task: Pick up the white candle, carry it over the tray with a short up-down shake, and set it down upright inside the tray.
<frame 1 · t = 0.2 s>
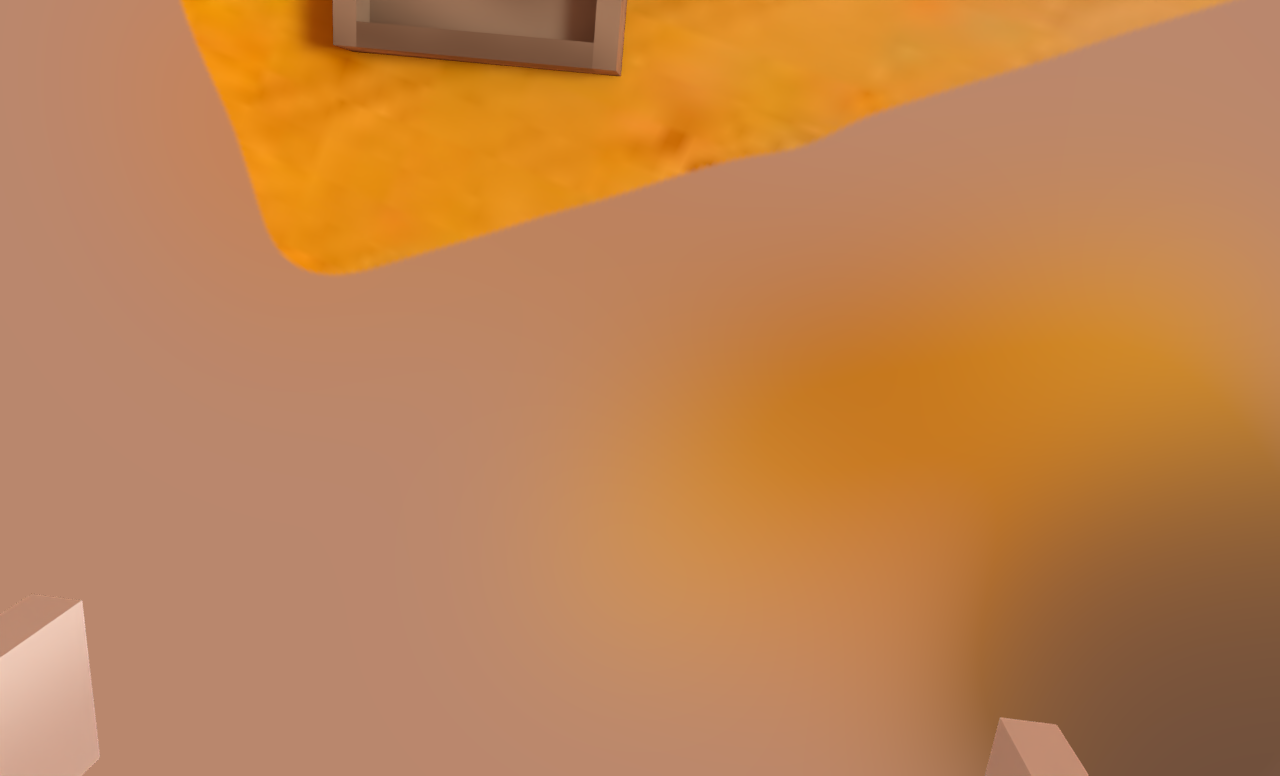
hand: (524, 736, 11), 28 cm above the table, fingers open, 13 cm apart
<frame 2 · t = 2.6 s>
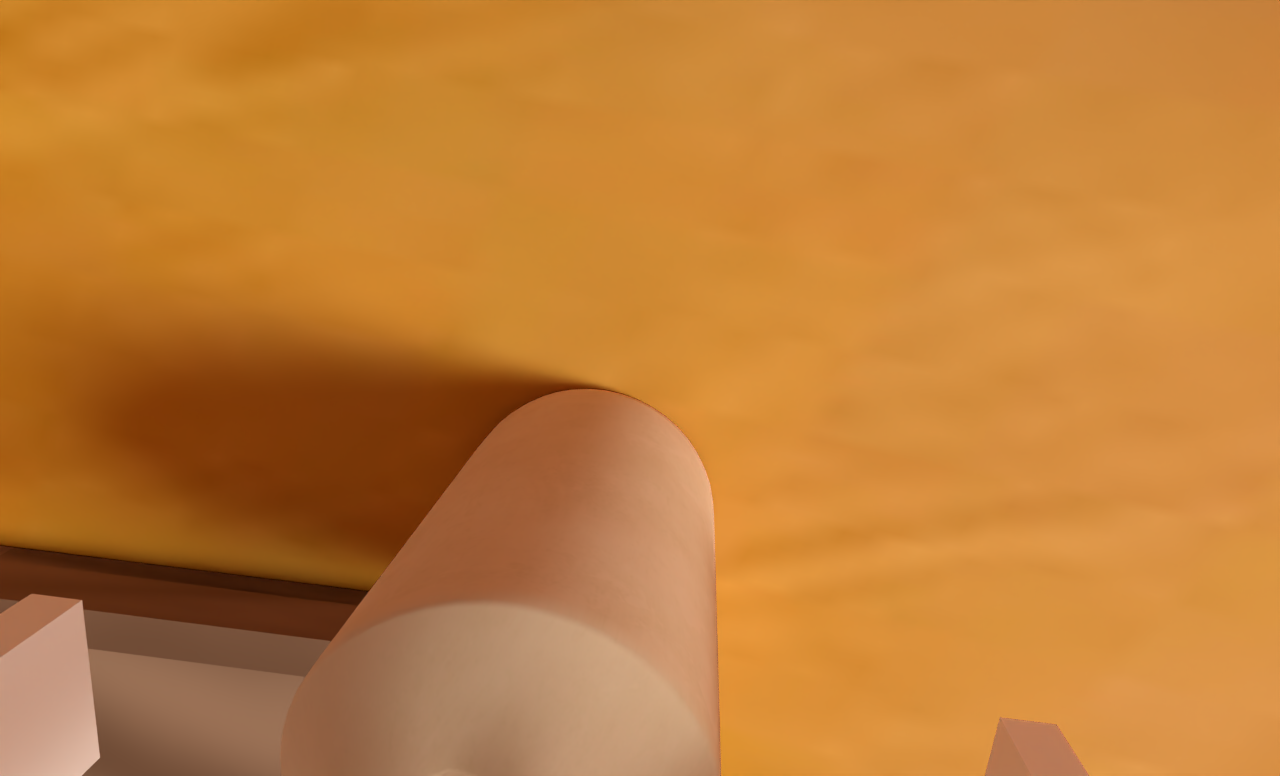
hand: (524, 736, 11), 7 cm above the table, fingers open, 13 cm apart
candle: (592, 498, 18), on the table
tray: (227, 773, 21), on the table
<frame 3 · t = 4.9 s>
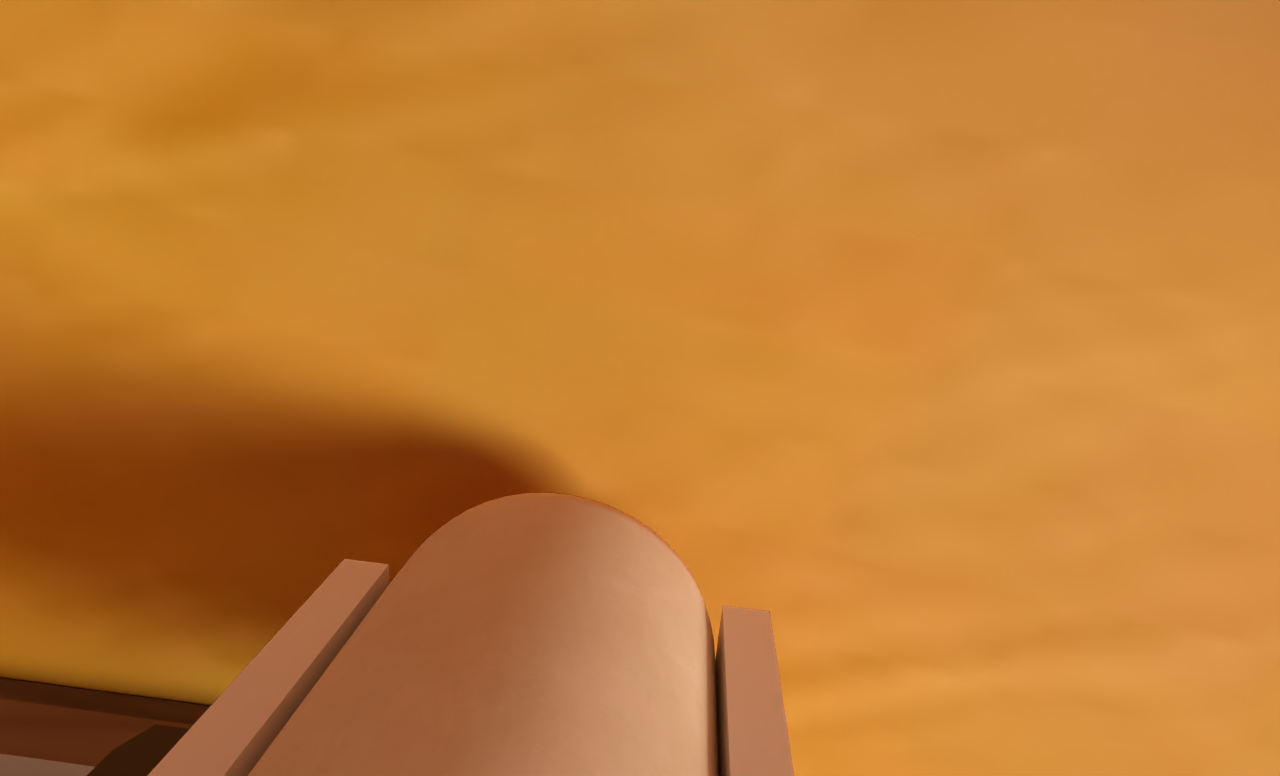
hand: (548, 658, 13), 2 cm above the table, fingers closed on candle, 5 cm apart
candle: (554, 630, 14), point 2 cm above the table, touching gripper
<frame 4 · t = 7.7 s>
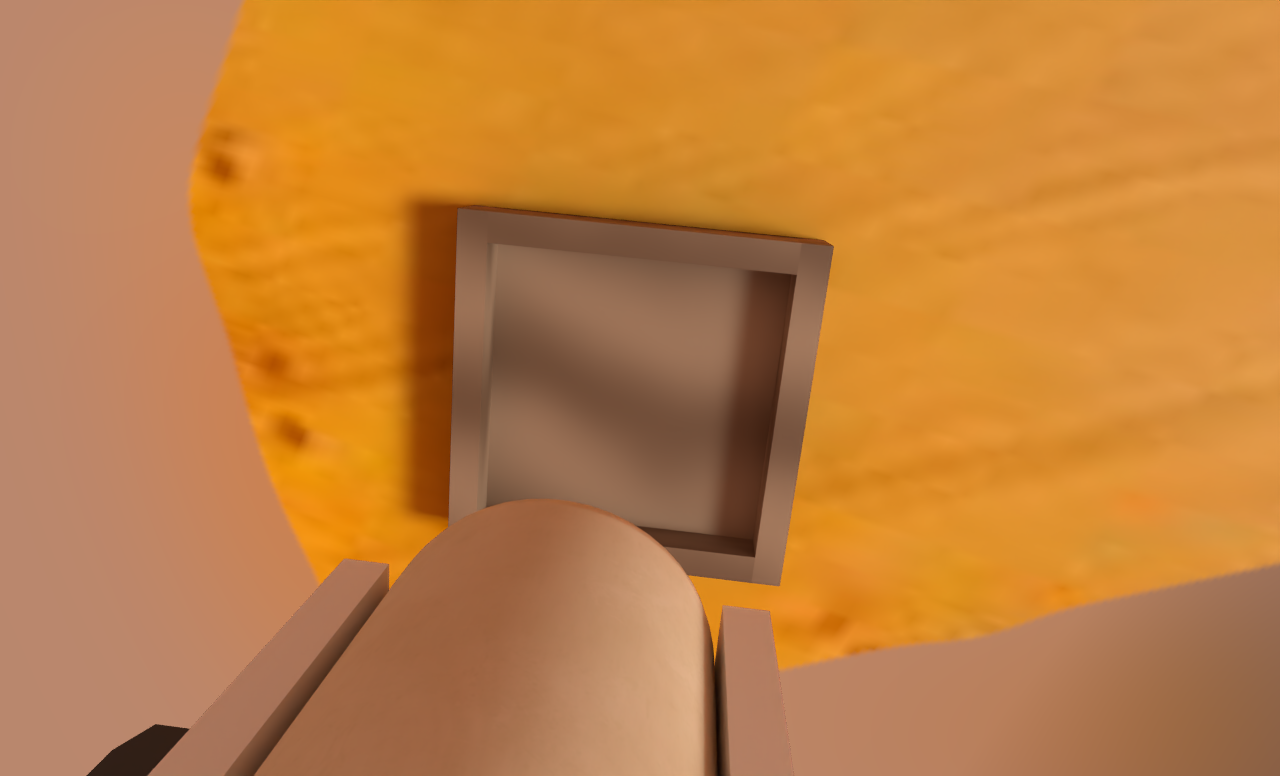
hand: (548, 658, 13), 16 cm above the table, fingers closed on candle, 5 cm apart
candle: (554, 636, 14), point 16 cm above the table, touching gripper
tray: (631, 390, 29), on the table
when the fingers open (3 cm above the table, at t = 10.7 s): candle drops 2 cm, resting on tray.
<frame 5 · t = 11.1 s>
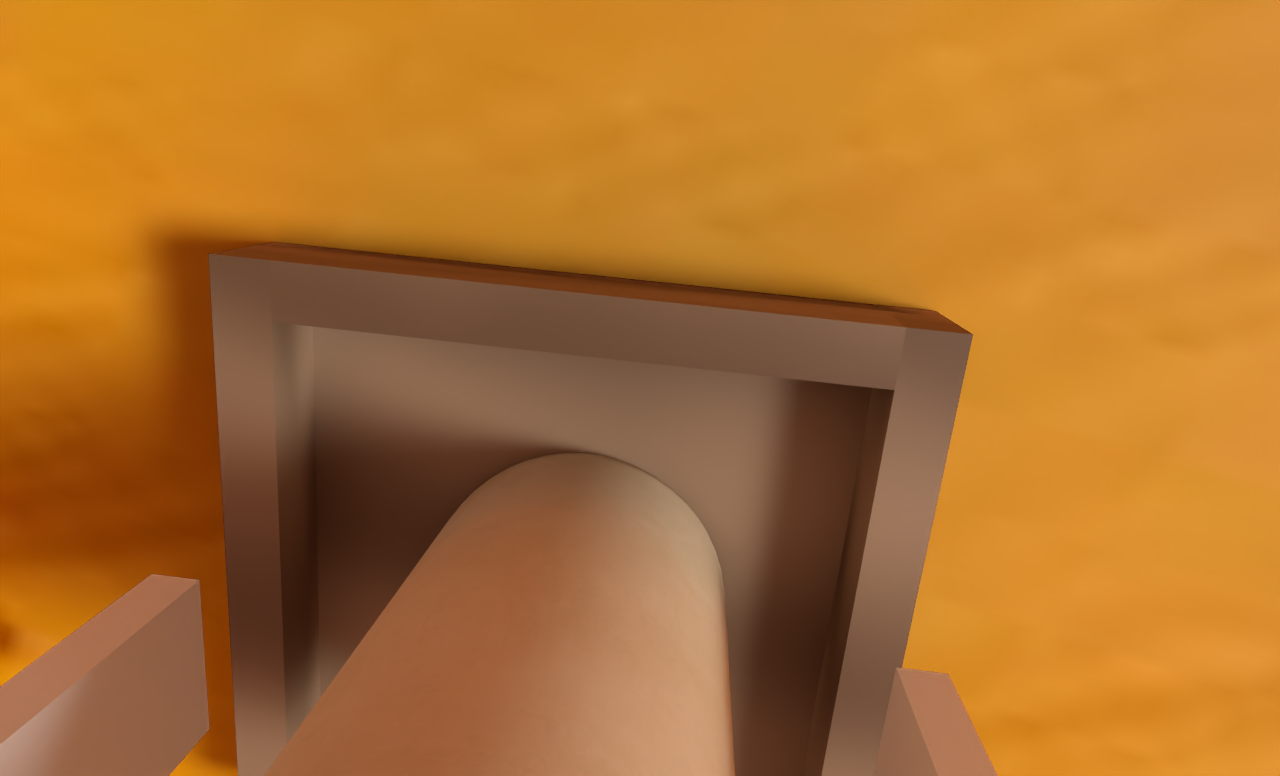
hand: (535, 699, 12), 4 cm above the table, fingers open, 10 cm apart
candle: (581, 578, 15), resting on tray
tray: (574, 574, 16), on the table
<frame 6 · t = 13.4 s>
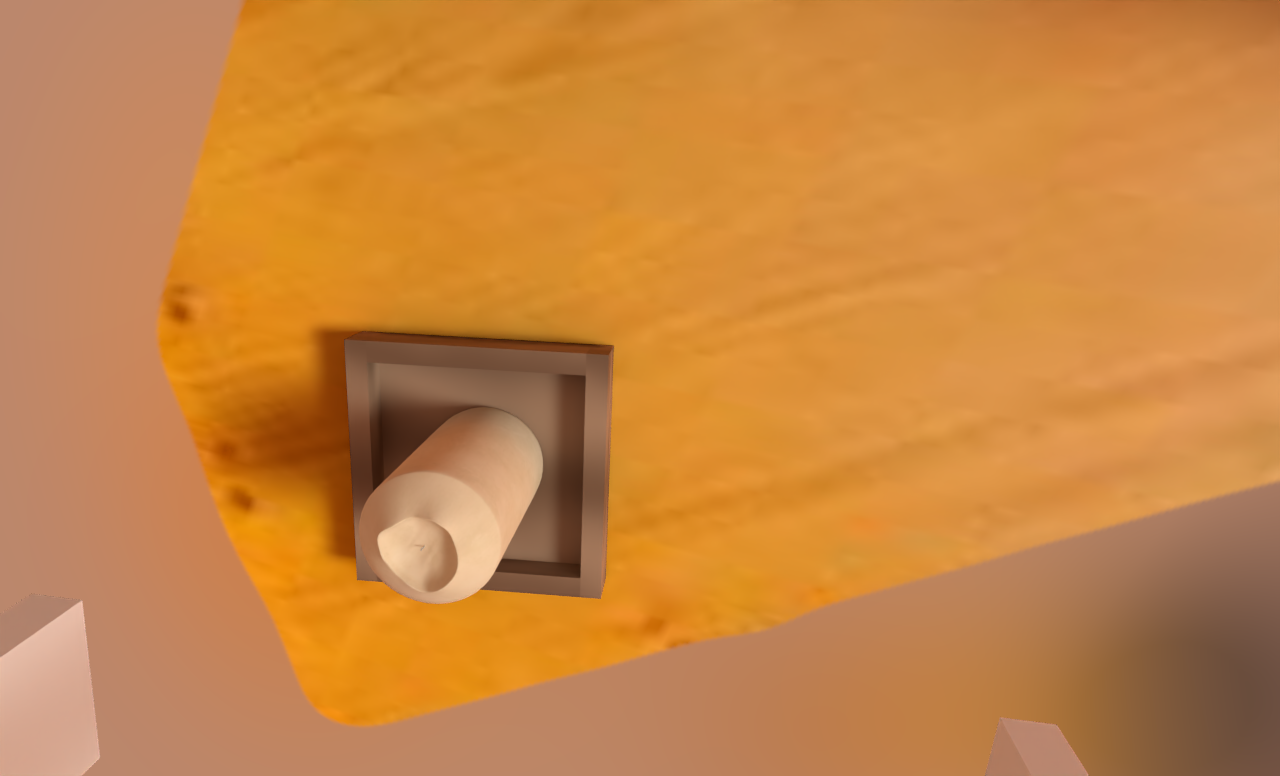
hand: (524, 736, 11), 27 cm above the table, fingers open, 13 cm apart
candle: (489, 458, 39), resting on tray
tray: (487, 458, 39), on the table
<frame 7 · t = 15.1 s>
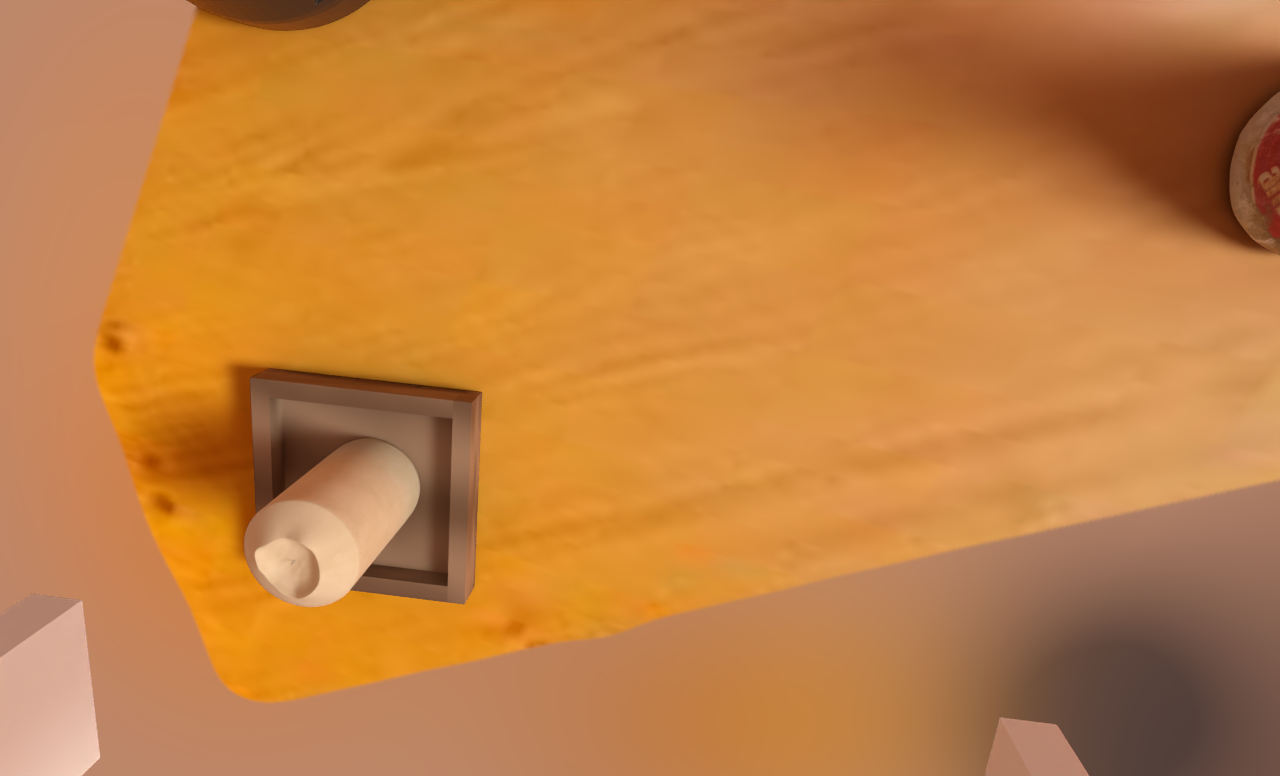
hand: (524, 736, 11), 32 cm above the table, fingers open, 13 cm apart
candle: (375, 481, 45), resting on tray
tray: (375, 480, 46), on the table
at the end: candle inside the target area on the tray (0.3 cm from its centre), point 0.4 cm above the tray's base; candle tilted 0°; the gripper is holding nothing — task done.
